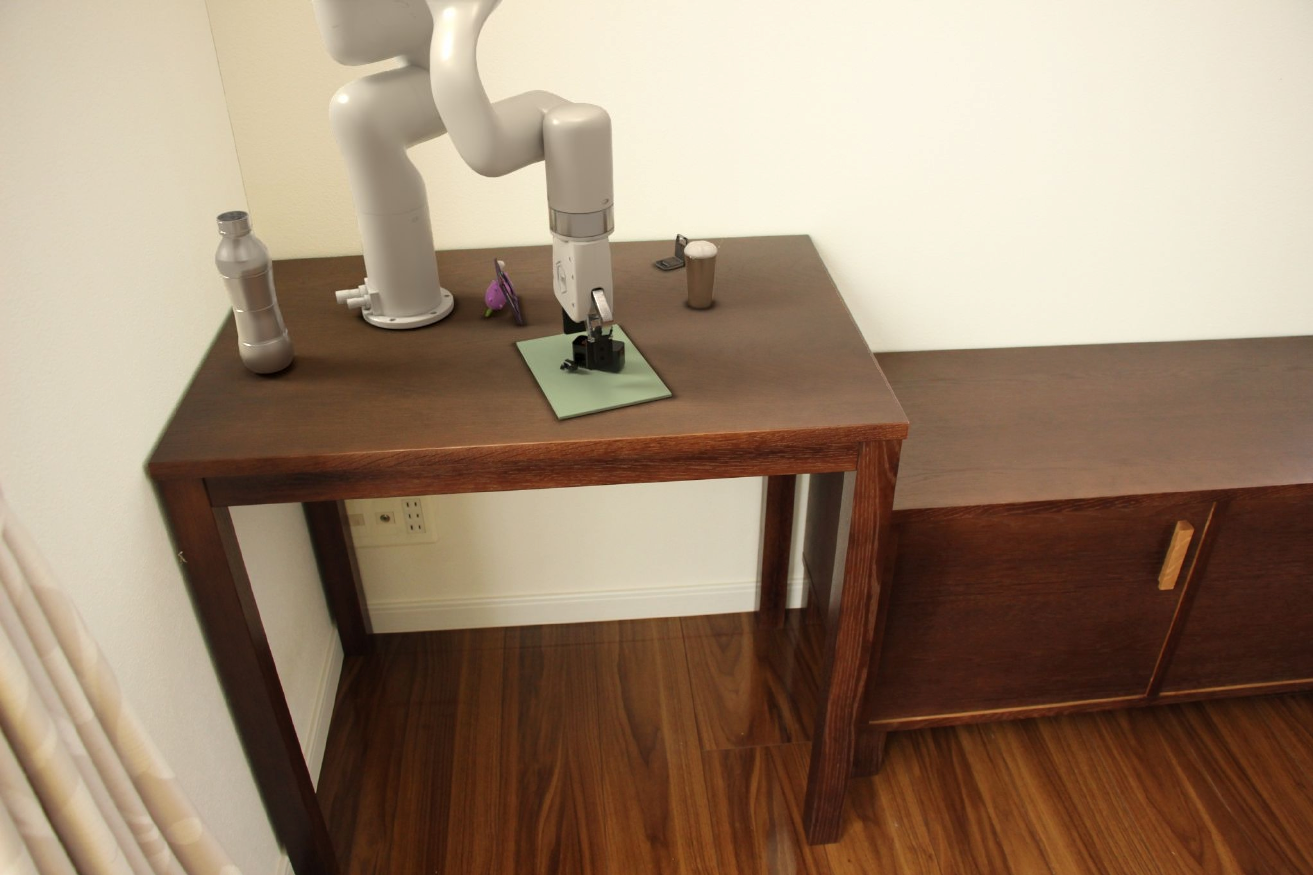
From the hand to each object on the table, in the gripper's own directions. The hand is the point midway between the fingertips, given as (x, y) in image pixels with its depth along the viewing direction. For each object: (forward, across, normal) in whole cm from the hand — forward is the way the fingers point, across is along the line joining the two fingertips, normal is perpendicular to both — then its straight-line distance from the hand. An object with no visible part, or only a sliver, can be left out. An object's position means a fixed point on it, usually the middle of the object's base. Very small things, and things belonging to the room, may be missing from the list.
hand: (587, 349), depth 123 cm
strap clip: (+3, -27, +24) cm, 36 cm away
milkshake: (+3, -12, +21) cm, 24 cm away
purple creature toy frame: (+3, -20, -6) cm, 21 cm away
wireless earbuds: (+3, +1, 0) cm, 3 cm away
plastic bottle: (+3, -16, -37) cm, 41 cm away
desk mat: (+3, 0, 0) cm, 3 cm away
